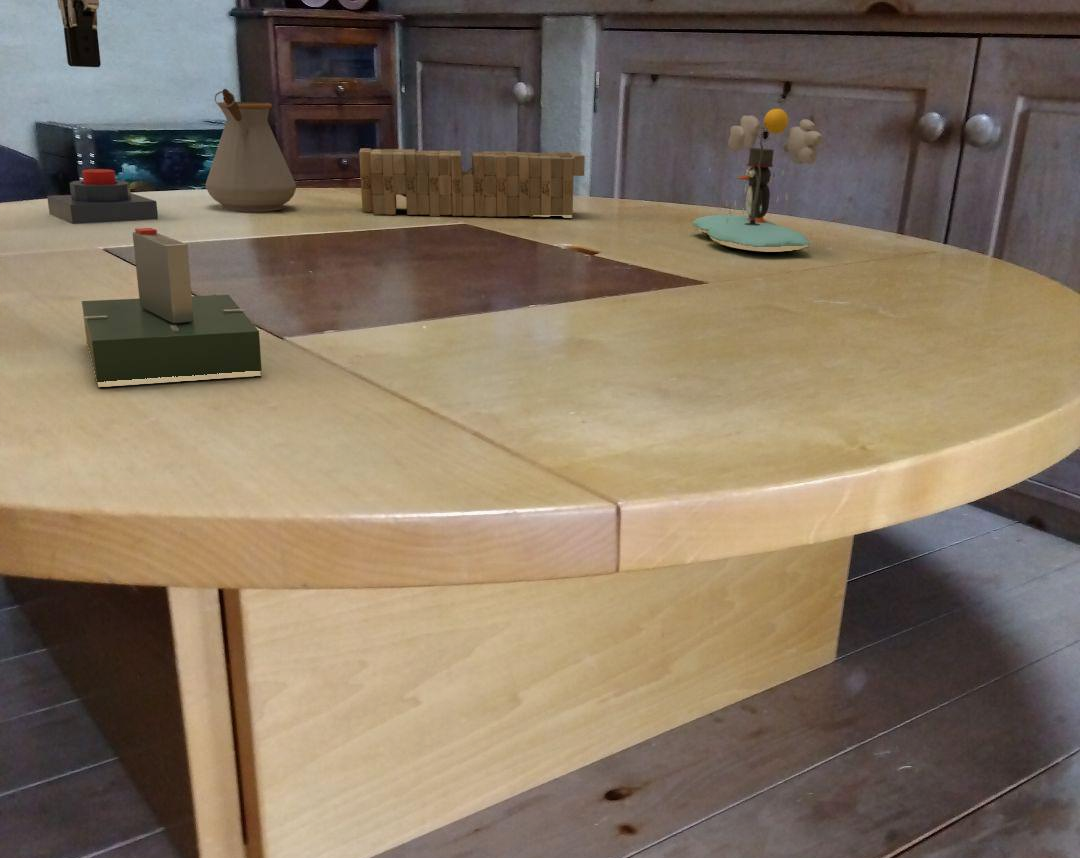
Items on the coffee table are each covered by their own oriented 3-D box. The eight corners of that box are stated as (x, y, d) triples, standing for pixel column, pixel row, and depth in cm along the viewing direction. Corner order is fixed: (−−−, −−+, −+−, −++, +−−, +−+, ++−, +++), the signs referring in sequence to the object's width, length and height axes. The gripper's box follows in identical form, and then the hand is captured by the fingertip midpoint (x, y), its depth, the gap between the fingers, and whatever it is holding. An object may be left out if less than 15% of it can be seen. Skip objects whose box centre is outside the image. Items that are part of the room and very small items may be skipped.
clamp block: (96, 388, 69) (89, 337, 68) (85, 343, 79) (79, 298, 78) (263, 376, 73) (260, 328, 72) (233, 335, 83) (230, 292, 82)
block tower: (361, 221, 145) (584, 218, 148) (357, 153, 142) (586, 151, 145) (364, 213, 153) (576, 210, 155) (360, 147, 149) (577, 146, 152)
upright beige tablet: (194, 322, 73) (187, 239, 71) (173, 324, 72) (165, 241, 70) (160, 305, 77) (152, 227, 75) (139, 307, 76) (131, 228, 74)
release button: (89, 188, 131) (87, 172, 130) (79, 184, 134) (77, 169, 133) (120, 187, 133) (118, 171, 133) (110, 183, 136) (108, 168, 135)
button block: (72, 224, 129) (68, 188, 127) (49, 214, 135) (44, 180, 134) (158, 219, 135) (155, 185, 133) (132, 210, 141) (128, 177, 139)
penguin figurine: (685, 231, 142) (696, 102, 136) (767, 233, 143) (781, 105, 137) (726, 258, 123) (740, 110, 117) (819, 260, 125) (839, 114, 118)
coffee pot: (215, 201, 152) (206, 82, 146) (302, 203, 153) (296, 85, 147) (183, 224, 132) (171, 87, 126) (282, 226, 133) (275, 90, 127)
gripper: (123, -121, 118) (140, 69, 125) (78, -107, 128) (96, 66, 135) (49, -131, 113) (71, 66, 120) (8, -116, 124) (31, 64, 131)
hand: (84, 66), depth 128 cm, fingers closed
